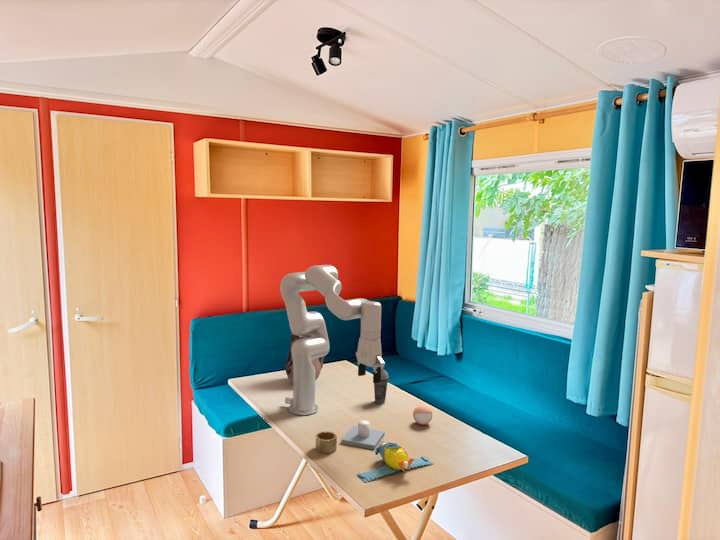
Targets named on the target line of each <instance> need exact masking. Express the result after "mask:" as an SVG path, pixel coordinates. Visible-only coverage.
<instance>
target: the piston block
mask: <svg viewBox="0 0 720 540" xmlns="http://www.w3.org/2000/svg"><path fill="white" fill-rule="evenodd" d="M370 423H371V422H370V421H368V420H364V419H363V420H362V419H361V420H359V421H358V423H357V426H355V425H353V426H352V427H350V429H349V430H348V431H347V433H345V435H344V436H343V437H342V438H341V444H343V445H347V446H348V445H349V446H353V447H358V446H359V448H365V449H370V450H373V451H374V450H375V451H376V448H377V447H378V446H379V445H380V444H379V443H380V442H381V441H382V440H381V439H383V438H384V437H383V436H385V431H384V430H379V429H373V428H370Z"/></svg>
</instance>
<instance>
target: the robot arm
mask: <svg viewBox="0 0 720 540" xmlns="http://www.w3.org/2000/svg"><path fill="white" fill-rule="evenodd" d="M338 278H339V272H338V270H337V269H336V267H334V266H333V265H332V264H322V265H321V264H319V265H312V266H310V267H308V268H307V269H306V270H305V271H298V272H291V273H288V274H286V275H284V276H283V277H282V279H281V282H280V285H279V288H280V293H281V298H282V300H283V302H284V305H285V309H286V314H287V319H288V322H289V328H290V331H291V334H294V335H296V336H300V335H307V334H311V336H312V337H307V338H303V339H299V340H297V341H295V342H294V343H293V345H292V348H291V352H292V358H293V382H292V397H285V399H284V401H285V402H284V404H289V405H290V406H288V411H289V412H290V413H291V414H292V415H297V416H309V415H313V414H316V413H317V412H318V411H319V406H318V404H317V403H316V381H315V373H316V372H315V367H314V365H313V363H312V359H315V358H319V357H323V356H326V355H328V354H329V352H330V349H331V348H330V346H331V345H330V340H329V335H328V330H327V326H326V321H325V319H324V317H323V315H322V314H321V313H320V312H318V311H308V309H307V306H306V301H305V300H304V298H303V296H301V295H300V293H301V292H312V291H317V292H318V293H320V294H321V295H322V296H324V300H325V304H326V307H327V309H328V310H329V311H330V312H331V313H332V314H333V315H334V316H336V317H337V319H338V318H339V319H340V320H343V321H350V320H355V319H360V337H359V340H358V343H357V344H358V345H357V351H356V352H355V357H356V361H357V366H358V367H357V368H358V369H357V375H358V377H362V376H365V375H366V374H367V373H366V369H367V367H369V368H372V369H373V373H372V383H373V384H374V383H379V382H381V372H382V370H383V369H384V370H385V365H386V362H385V361H384V360H383V358H382V355H383V352H382V343H381V342H382V341H381V329H382V304H381V303H380V302H378V301H371V300H368V299H366V298H361V297H360V298H359V297H358V298H352V299H343V298H342V297H341V296H339V295H340V293H341V291H342V283H341V281H340V280H339V279H338Z"/></svg>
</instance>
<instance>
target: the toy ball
mask: <svg viewBox="0 0 720 540" xmlns="http://www.w3.org/2000/svg"><path fill="white" fill-rule="evenodd" d="M412 417H413V420H414V421H415V422H416V423H417V424H418V425H422V426H423V425H424V426H425V425H428V424H429V423H430V422H431V421H432V419H433V412H432V409H431V408H430V407H429V406H427V404H426V405H425V404H420V405H417V406H416V407H415V408H414V409H413V412H412Z"/></svg>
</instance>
